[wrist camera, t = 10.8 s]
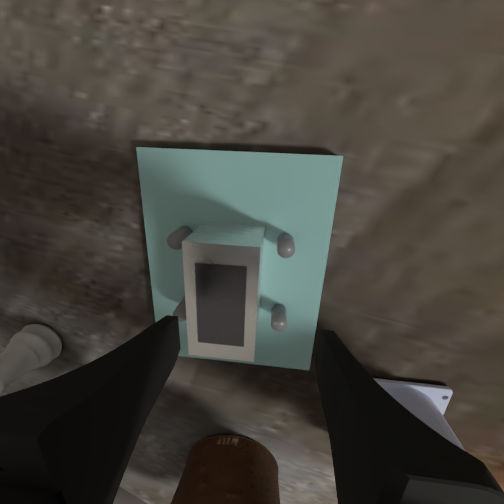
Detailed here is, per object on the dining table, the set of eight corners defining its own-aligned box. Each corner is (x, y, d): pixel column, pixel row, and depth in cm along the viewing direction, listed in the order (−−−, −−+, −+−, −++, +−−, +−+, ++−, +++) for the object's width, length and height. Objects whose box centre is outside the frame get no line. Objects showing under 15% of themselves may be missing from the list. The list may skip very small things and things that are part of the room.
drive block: (259, 317, 21) (253, 362, 16) (208, 312, 22) (188, 355, 17) (265, 224, 18) (260, 247, 14) (206, 220, 19) (181, 241, 14)
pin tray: (307, 360, 24) (312, 389, 21) (164, 344, 25) (148, 370, 22) (339, 156, 17) (351, 155, 14) (144, 147, 19) (118, 145, 16)
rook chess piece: (65, 328, 25) (-24, 398, 18) (65, 361, 27) (-16, 438, 20) (22, 316, 25) (-84, 381, 18) (25, 349, 27) (-71, 422, 20)
